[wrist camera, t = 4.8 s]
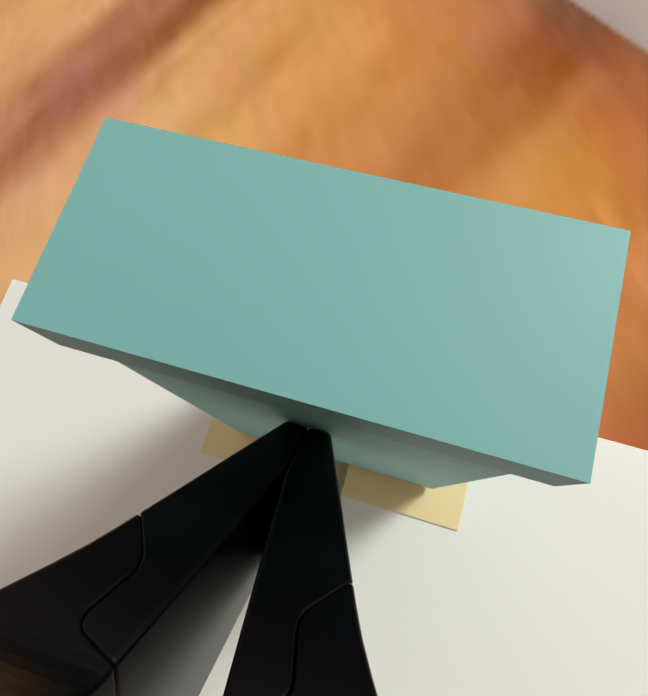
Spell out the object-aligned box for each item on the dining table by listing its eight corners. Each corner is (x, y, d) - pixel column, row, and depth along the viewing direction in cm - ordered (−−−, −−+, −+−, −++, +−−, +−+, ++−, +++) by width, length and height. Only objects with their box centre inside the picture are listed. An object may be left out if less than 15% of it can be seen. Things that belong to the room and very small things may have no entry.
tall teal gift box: (437, 496, 15) (590, 483, 5) (231, 434, 16) (11, 319, 6) (458, 403, 16) (630, 231, 6) (259, 349, 17) (105, 117, 7)
